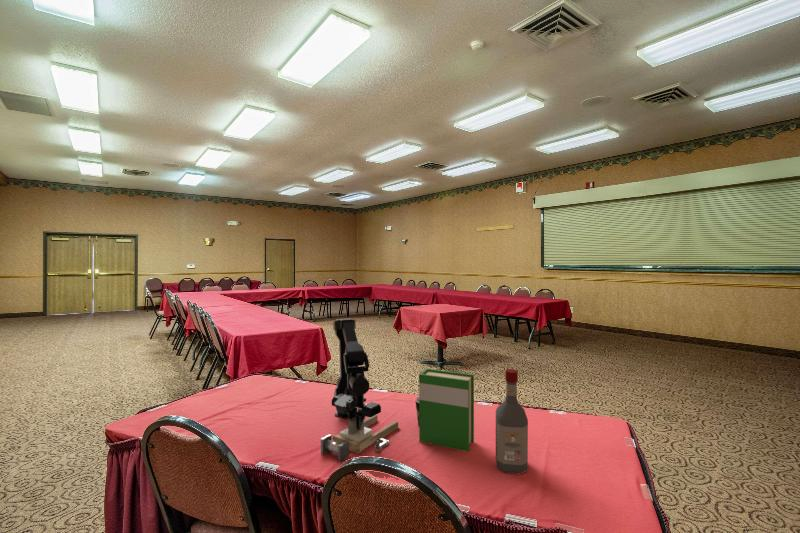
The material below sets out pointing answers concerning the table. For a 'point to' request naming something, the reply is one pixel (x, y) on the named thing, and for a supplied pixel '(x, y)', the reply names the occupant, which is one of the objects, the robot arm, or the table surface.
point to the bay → (370, 440)
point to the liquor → (511, 430)
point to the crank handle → (381, 443)
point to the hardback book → (446, 408)
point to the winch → (335, 447)
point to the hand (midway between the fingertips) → (356, 428)
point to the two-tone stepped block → (356, 431)
